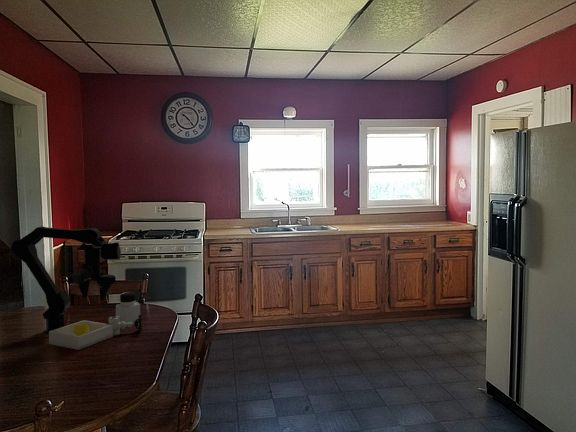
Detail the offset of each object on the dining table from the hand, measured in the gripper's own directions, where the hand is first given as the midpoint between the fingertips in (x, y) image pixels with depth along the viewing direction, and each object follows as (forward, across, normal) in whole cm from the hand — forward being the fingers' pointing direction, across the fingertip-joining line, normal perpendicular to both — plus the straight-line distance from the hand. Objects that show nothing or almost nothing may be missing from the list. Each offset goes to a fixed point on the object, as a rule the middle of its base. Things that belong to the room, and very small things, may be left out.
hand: (93, 299), depth 172 cm
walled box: (+12, +6, -11) cm, 17 cm away
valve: (+12, +14, +2) cm, 19 cm away
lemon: (+11, +6, -11) cm, 17 cm away
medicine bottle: (+12, +4, +14) cm, 19 cm away
